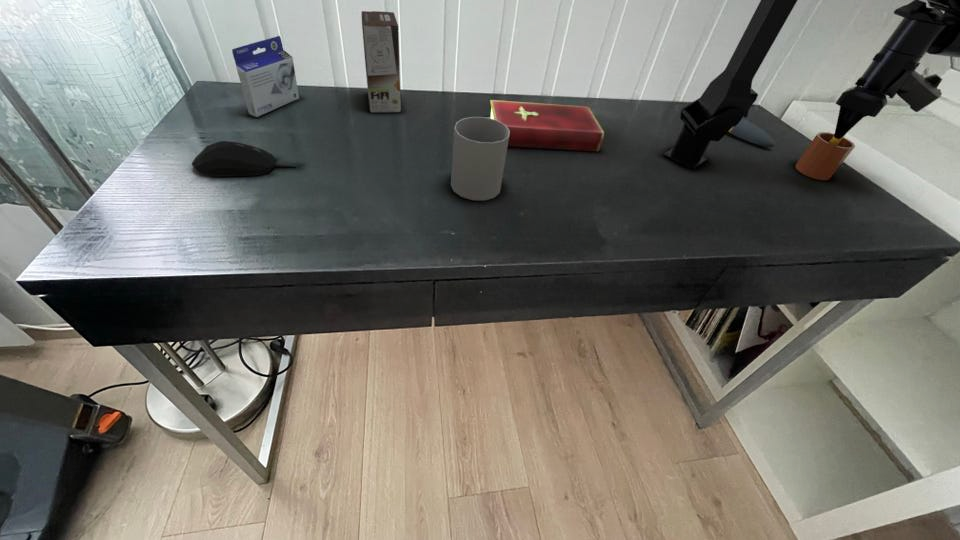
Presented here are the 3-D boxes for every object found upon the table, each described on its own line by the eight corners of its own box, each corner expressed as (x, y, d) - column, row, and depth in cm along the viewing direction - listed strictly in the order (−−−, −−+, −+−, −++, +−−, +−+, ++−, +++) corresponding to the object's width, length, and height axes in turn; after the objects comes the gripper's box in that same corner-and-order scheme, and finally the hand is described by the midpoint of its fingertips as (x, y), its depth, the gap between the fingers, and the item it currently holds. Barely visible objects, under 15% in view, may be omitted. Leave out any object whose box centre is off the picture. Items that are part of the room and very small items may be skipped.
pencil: (834, 149, 82) (860, 114, 77) (825, 145, 83) (851, 111, 78) (836, 147, 83) (862, 112, 78) (827, 143, 83) (853, 109, 79)
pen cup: (825, 183, 83) (850, 152, 78) (790, 169, 86) (813, 137, 81) (833, 173, 87) (858, 142, 82) (800, 159, 90) (822, 129, 85)
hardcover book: (598, 152, 83) (605, 132, 80) (494, 146, 80) (496, 125, 77) (583, 124, 91) (588, 105, 88) (488, 118, 89) (490, 98, 86)
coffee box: (401, 112, 86) (399, 25, 75) (370, 113, 85) (362, 24, 73) (397, 94, 92) (394, 11, 81) (367, 94, 91) (360, 9, 80)
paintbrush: (775, 145, 94) (789, 124, 90) (769, 152, 91) (783, 130, 87) (691, 113, 102) (700, 92, 99) (683, 118, 99) (692, 98, 96)
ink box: (257, 118, 78) (239, 52, 70) (248, 115, 79) (228, 49, 71) (301, 98, 86) (289, 37, 78) (292, 95, 87) (279, 34, 79)
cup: (506, 180, 72) (516, 125, 65) (492, 205, 66) (501, 148, 59) (461, 167, 73) (465, 112, 66) (443, 191, 68) (446, 133, 61)
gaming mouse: (293, 177, 66) (288, 154, 63) (189, 177, 63) (178, 154, 61) (298, 157, 71) (294, 134, 68) (201, 156, 68) (192, 133, 65)
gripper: (955, 77, 62) (874, 170, 72) (967, 57, 72) (894, 141, 83) (870, 52, 67) (806, 143, 78) (892, 38, 77) (833, 119, 88)
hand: (838, 137), depth 81 cm, fingers closed on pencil, 1 cm apart
